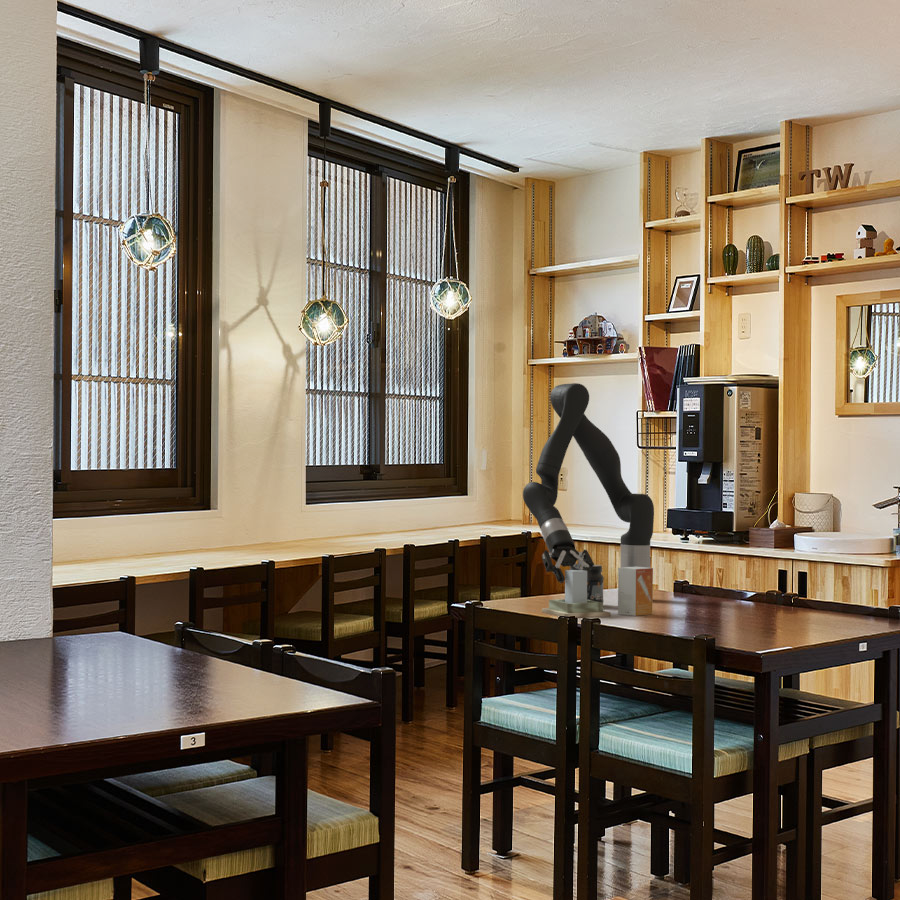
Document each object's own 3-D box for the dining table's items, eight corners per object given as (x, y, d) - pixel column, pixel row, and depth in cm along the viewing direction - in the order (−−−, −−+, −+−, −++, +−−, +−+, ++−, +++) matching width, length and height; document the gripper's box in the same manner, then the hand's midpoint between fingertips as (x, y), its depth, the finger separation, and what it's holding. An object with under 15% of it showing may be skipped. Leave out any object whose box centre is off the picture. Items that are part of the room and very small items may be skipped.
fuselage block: (579, 609, 306) (579, 569, 306) (586, 611, 302) (587, 571, 302) (564, 609, 304) (565, 570, 304) (572, 611, 300) (572, 571, 300)
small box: (635, 616, 299) (636, 568, 299) (617, 614, 304) (617, 567, 304) (653, 614, 305) (653, 567, 305) (634, 612, 309) (635, 566, 310)
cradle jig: (585, 610, 312) (585, 598, 312) (610, 616, 299) (610, 603, 299) (541, 611, 307) (541, 599, 307) (565, 617, 294) (565, 604, 294)
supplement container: (561, 604, 327) (561, 564, 327) (591, 603, 331) (592, 563, 332) (579, 608, 317) (579, 566, 318) (610, 607, 322) (610, 566, 322)
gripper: (539, 528, 309) (557, 572, 298) (583, 528, 315) (603, 571, 304) (530, 546, 314) (549, 590, 303) (574, 545, 319) (594, 588, 308)
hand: (576, 580), depth 303 cm, fingers open, 8 cm apart
